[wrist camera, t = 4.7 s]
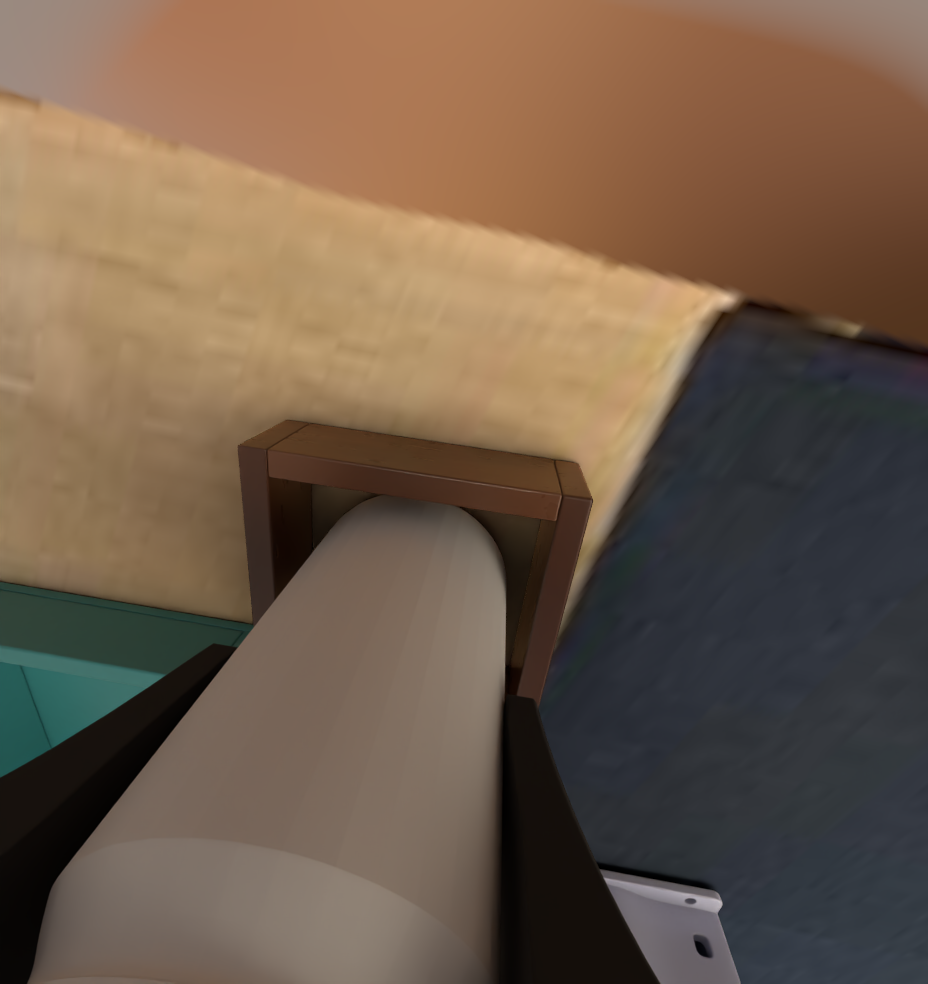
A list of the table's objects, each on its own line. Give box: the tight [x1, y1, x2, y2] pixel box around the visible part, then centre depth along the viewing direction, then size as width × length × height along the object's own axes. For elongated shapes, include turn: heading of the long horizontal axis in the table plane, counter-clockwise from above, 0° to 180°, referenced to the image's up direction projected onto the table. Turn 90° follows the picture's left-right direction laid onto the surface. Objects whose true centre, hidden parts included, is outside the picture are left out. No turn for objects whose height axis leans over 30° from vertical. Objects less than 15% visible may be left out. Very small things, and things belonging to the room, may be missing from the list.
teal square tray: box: [0, 582, 254, 777], centre depth 19 cm, size 12×13×3 cm
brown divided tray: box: [238, 420, 593, 708], centre depth 16 cm, size 9×18×3 cm, turn 173°
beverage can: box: [27, 495, 506, 984], centre depth 10 cm, size 6×6×12 cm
